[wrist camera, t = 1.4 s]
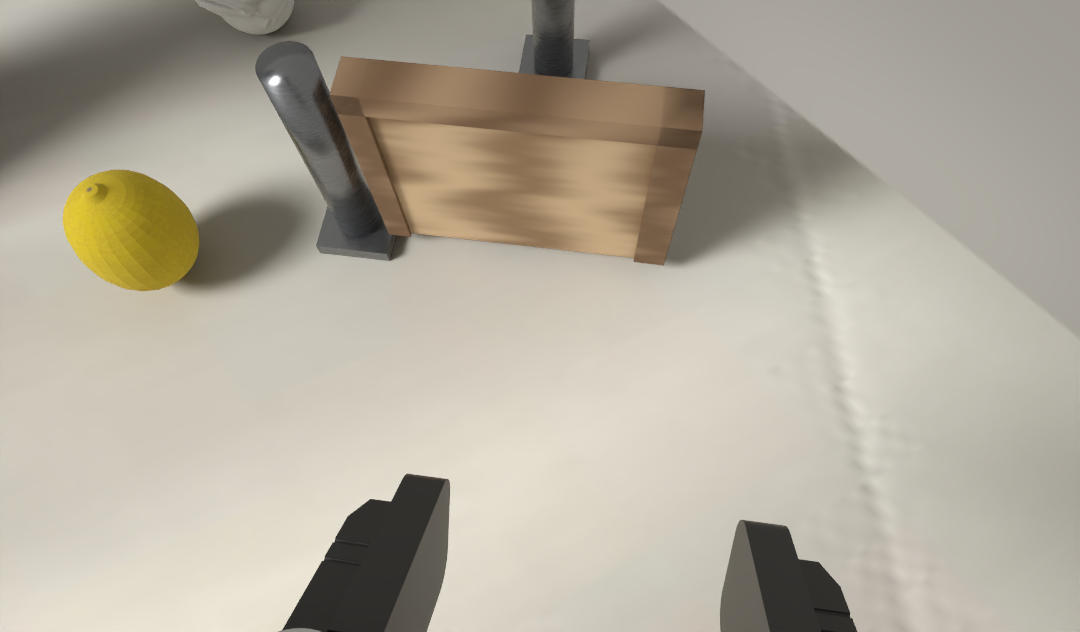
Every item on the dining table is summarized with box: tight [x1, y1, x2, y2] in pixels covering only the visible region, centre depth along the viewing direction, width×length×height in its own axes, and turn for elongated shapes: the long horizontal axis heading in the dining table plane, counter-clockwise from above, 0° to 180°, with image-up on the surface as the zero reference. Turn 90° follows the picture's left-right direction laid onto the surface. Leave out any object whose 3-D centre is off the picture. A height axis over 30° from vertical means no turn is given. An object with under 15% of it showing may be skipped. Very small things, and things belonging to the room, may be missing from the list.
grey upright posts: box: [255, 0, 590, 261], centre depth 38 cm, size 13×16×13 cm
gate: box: [329, 57, 705, 265], centre depth 35 cm, size 15×2×11 cm, turn 82°
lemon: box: [63, 170, 200, 291], centre depth 37 cm, size 6×6×8 cm
